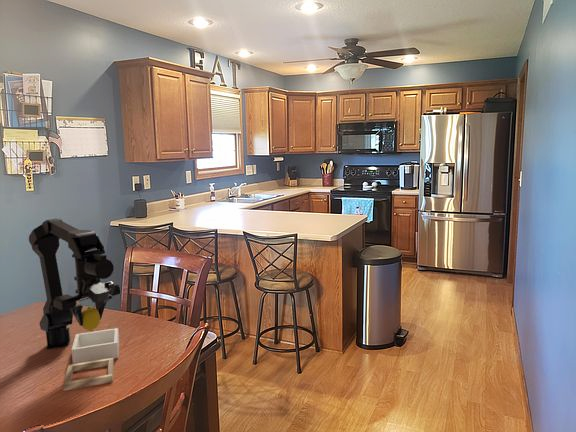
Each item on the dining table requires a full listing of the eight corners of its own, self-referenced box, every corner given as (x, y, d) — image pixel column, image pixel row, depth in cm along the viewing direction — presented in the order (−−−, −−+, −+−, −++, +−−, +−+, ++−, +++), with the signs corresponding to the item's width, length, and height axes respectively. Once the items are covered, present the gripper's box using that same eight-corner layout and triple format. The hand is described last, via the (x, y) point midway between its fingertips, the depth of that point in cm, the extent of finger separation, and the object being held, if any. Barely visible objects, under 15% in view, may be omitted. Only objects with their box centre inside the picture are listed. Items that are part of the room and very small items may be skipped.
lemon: (79, 330, 138) (77, 306, 137) (98, 326, 142) (96, 302, 140) (84, 336, 134) (82, 311, 133) (103, 331, 137) (101, 306, 136)
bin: (73, 365, 136) (71, 349, 136) (77, 348, 149) (76, 334, 148) (118, 357, 141) (117, 342, 140) (119, 342, 153) (118, 328, 152)
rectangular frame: (63, 390, 122) (63, 384, 121) (69, 370, 133) (68, 364, 133) (112, 381, 126) (112, 375, 125) (113, 363, 137) (113, 357, 137)
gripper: (70, 285, 123) (74, 339, 125) (129, 270, 138) (132, 318, 140) (50, 278, 129) (54, 330, 132) (108, 265, 144) (112, 311, 147)
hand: (90, 322), depth 137 cm, fingers closed on lemon, 6 cm apart
